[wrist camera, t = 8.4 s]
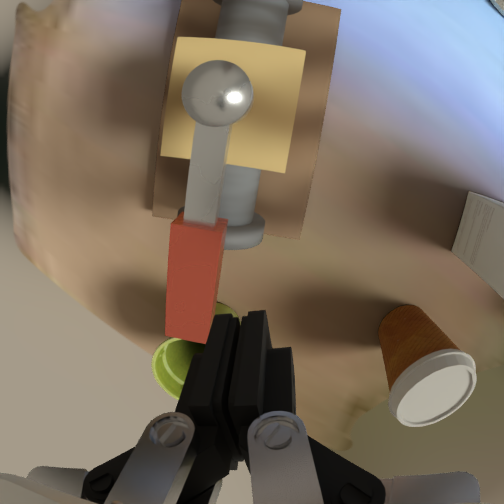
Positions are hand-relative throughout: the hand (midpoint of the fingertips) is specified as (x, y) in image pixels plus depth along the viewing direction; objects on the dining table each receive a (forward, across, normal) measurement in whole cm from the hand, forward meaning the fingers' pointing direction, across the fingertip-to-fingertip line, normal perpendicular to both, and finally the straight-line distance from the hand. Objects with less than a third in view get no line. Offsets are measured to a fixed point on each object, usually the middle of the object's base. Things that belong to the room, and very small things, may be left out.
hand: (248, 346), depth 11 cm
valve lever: (+8, +3, -3) cm, 9 cm away
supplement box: (+22, -24, +6) cm, 33 cm away
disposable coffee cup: (+21, -14, +17) cm, 31 cm away
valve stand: (+21, +1, -8) cm, 23 cm away
